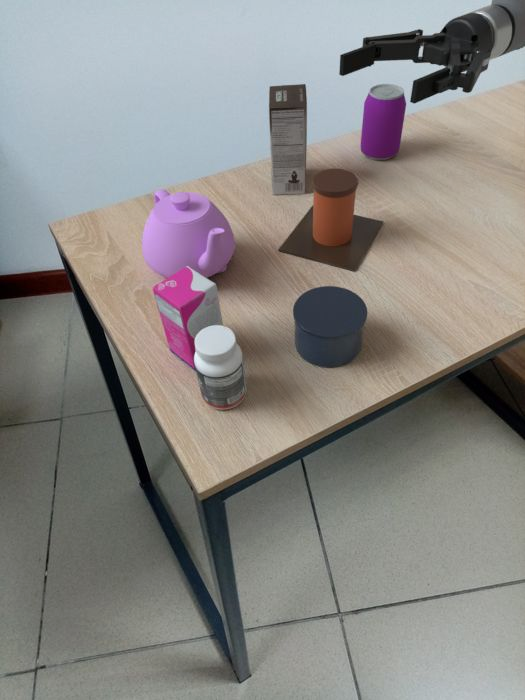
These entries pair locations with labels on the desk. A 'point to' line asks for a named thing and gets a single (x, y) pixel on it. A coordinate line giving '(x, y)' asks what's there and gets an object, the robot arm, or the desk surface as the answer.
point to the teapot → (186, 235)
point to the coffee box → (288, 138)
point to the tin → (329, 326)
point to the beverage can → (383, 121)
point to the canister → (333, 206)
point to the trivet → (336, 256)
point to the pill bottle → (219, 367)
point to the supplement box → (187, 310)
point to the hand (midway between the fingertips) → (375, 78)
